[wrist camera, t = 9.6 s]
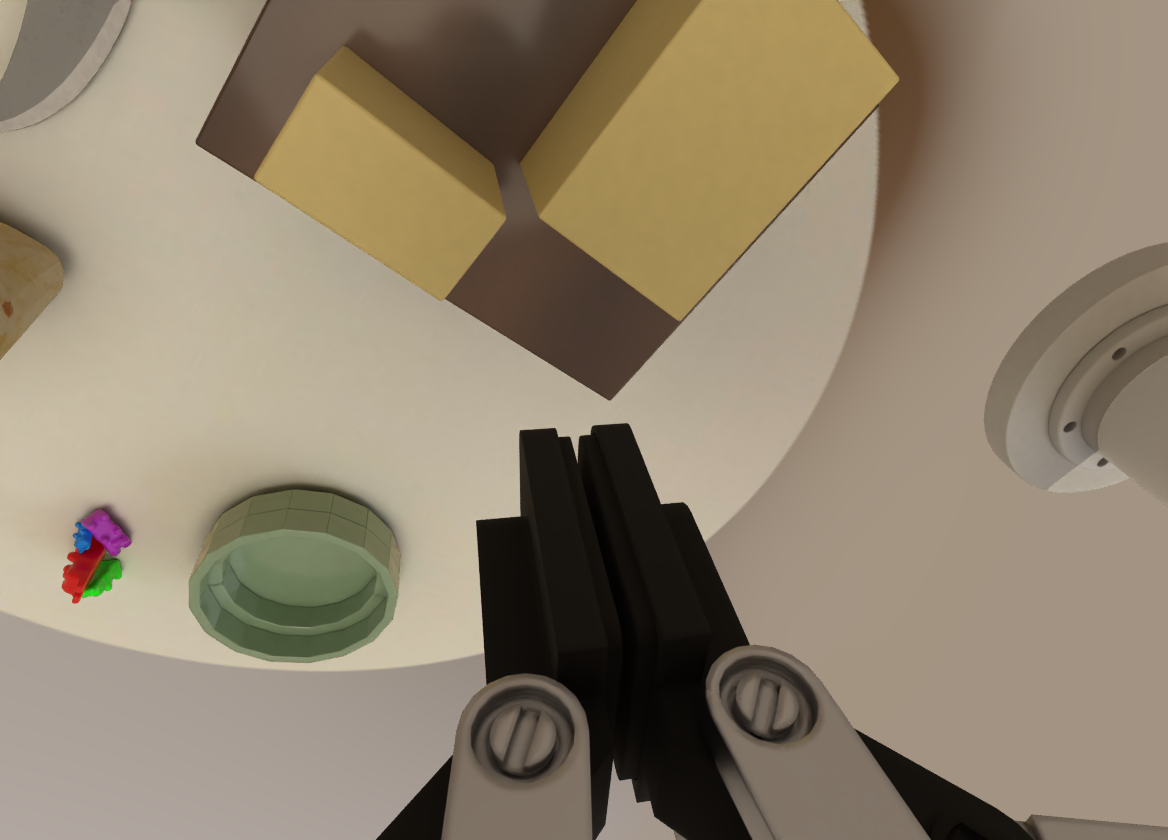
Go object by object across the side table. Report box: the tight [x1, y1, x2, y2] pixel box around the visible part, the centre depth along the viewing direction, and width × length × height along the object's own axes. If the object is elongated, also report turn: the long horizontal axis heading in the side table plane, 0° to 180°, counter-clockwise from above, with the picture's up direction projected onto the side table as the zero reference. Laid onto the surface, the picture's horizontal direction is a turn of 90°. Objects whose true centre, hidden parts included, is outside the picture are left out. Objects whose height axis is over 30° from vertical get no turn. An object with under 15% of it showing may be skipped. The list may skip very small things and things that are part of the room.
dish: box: [189, 489, 401, 663], centre depth 37 cm, size 10×10×4 cm
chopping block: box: [196, 0, 879, 400], centre depth 22 cm, size 14×12×10 cm
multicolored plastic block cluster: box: [62, 509, 131, 603], centre depth 34 cm, size 5×3×4 cm, turn 148°
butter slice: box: [254, 46, 506, 301], centre depth 16 cm, size 4×2×4 cm, turn 49°
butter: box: [520, 0, 899, 321], centre depth 17 cm, size 4×7×4 cm, turn 141°
